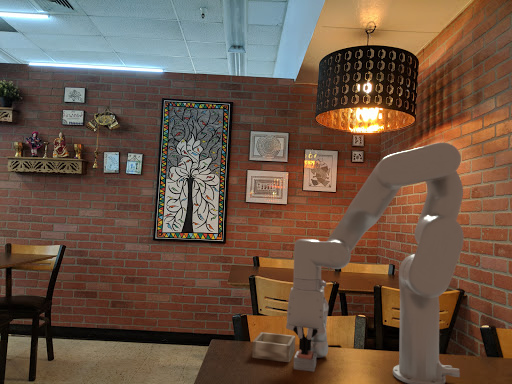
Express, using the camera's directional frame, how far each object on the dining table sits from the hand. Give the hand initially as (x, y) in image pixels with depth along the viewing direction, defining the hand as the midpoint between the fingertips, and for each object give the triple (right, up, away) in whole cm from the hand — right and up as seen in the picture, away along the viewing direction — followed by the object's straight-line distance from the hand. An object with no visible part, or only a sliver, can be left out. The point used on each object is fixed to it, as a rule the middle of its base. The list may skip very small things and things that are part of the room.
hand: (304, 352), depth 109 cm
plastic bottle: (+4, -5, +8) cm, 10 cm away
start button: (0, -3, 0) cm, 3 cm away
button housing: (0, -4, 0) cm, 4 cm away
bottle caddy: (-8, -4, +9) cm, 12 cm away
